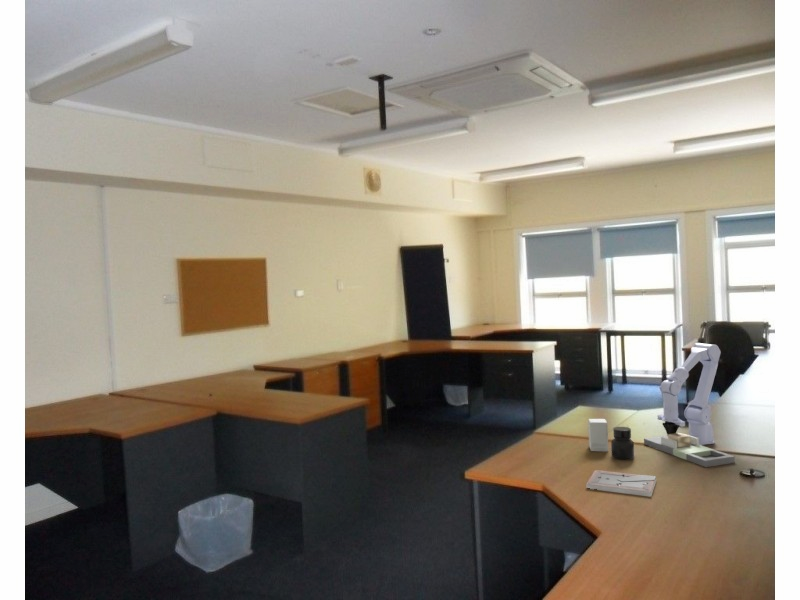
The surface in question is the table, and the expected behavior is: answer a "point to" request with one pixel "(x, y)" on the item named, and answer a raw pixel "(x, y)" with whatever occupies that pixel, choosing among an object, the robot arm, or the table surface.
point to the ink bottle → (622, 444)
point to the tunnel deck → (690, 451)
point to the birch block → (680, 439)
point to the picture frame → (622, 483)
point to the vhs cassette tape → (682, 412)
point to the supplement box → (598, 434)
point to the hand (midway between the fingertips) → (671, 439)
